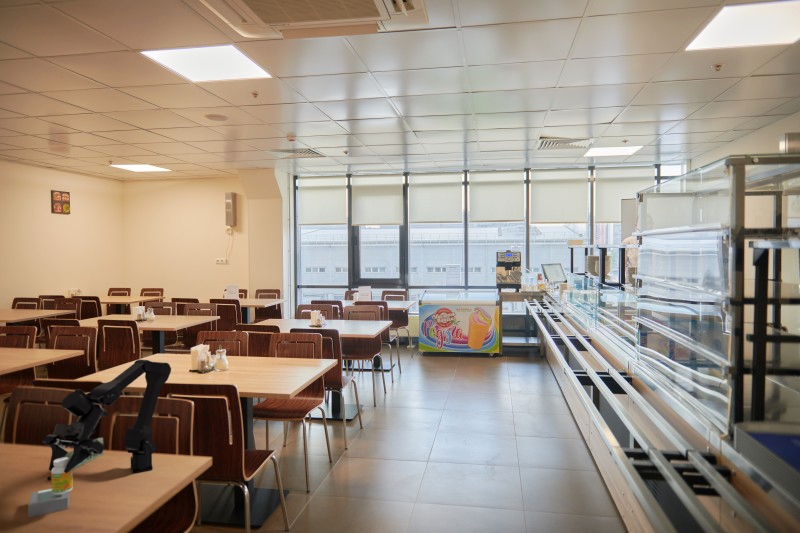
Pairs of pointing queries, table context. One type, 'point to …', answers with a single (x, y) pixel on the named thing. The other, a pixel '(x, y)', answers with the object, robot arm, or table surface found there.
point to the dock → (47, 502)
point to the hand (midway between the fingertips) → (57, 471)
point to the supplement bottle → (61, 477)
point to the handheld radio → (83, 460)
